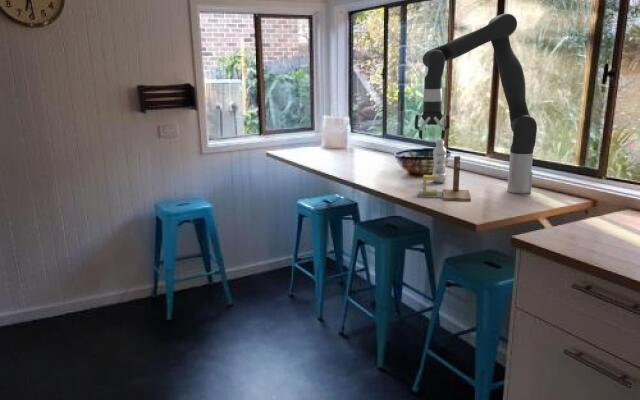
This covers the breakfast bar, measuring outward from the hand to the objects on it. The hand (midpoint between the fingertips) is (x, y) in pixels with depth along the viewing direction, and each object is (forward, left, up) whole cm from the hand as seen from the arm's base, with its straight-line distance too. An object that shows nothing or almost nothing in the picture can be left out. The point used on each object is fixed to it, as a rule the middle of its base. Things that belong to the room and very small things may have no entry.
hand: (431, 139), depth 214 cm
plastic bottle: (-4, -25, -25) cm, 35 cm away
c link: (0, 0, -24) cm, 24 cm away
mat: (0, 0, -24) cm, 24 cm away
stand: (-11, +1, -24) cm, 27 cm away
